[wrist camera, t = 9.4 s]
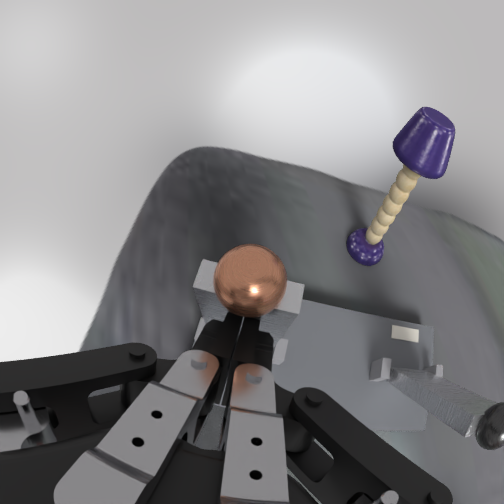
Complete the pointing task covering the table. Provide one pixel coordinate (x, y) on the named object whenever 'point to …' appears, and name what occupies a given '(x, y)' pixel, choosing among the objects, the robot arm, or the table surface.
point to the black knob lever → (453, 405)
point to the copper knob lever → (249, 289)
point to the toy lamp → (406, 177)
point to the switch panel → (354, 362)
